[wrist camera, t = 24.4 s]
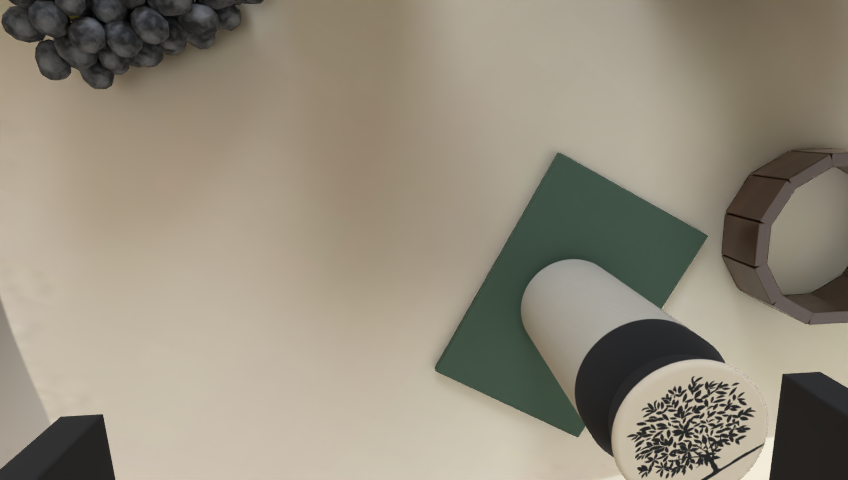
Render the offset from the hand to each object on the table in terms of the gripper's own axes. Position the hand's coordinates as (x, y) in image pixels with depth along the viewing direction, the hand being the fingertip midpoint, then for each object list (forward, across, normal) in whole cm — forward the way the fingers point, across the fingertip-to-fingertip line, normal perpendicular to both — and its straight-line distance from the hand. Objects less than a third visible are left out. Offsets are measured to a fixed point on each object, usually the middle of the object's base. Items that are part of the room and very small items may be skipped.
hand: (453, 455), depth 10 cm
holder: (+31, +32, -3) cm, 44 cm away
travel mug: (+30, +12, -8) cm, 34 cm away
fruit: (+31, -16, +14) cm, 38 cm away
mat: (+31, +12, -8) cm, 34 cm away
